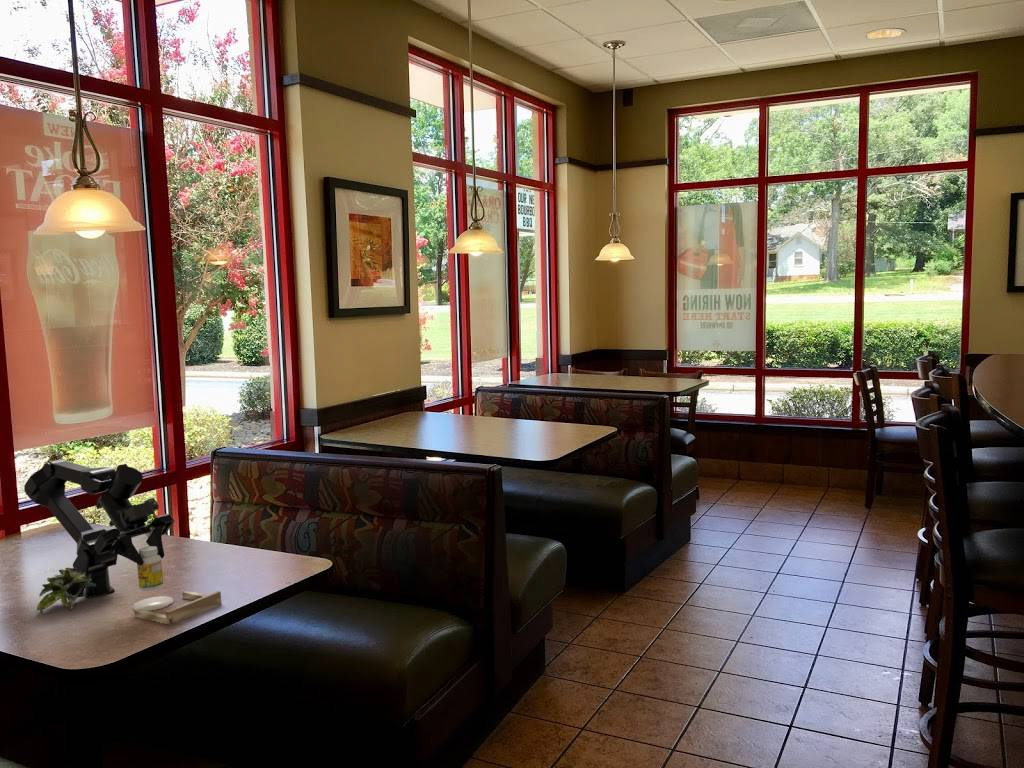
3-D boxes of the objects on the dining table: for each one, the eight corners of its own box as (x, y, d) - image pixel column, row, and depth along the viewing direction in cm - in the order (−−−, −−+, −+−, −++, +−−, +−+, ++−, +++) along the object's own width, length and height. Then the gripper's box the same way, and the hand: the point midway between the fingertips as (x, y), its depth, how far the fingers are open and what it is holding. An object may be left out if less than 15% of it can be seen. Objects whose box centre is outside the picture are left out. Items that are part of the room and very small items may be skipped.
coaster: (128, 605, 199) (127, 603, 199) (166, 595, 205) (166, 593, 205) (139, 614, 192) (139, 612, 192) (178, 604, 198) (178, 602, 198)
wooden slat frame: (134, 616, 191) (133, 604, 190) (186, 596, 203) (185, 584, 203) (169, 625, 184) (168, 612, 184) (221, 603, 197) (220, 591, 197)
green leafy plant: (73, 623, 204) (98, 576, 208) (79, 627, 195) (105, 579, 200) (27, 606, 199) (54, 559, 203) (31, 610, 190) (59, 561, 195)
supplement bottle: (168, 585, 199) (165, 546, 198) (149, 592, 194) (145, 553, 193) (153, 582, 202) (150, 544, 201) (134, 589, 197) (131, 550, 196)
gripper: (97, 498, 190) (131, 551, 185) (166, 481, 206) (199, 530, 201) (79, 528, 194) (112, 580, 190) (148, 509, 210) (180, 557, 206)
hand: (152, 560), depth 197 cm, fingers closed on supplement bottle, 5 cm apart
